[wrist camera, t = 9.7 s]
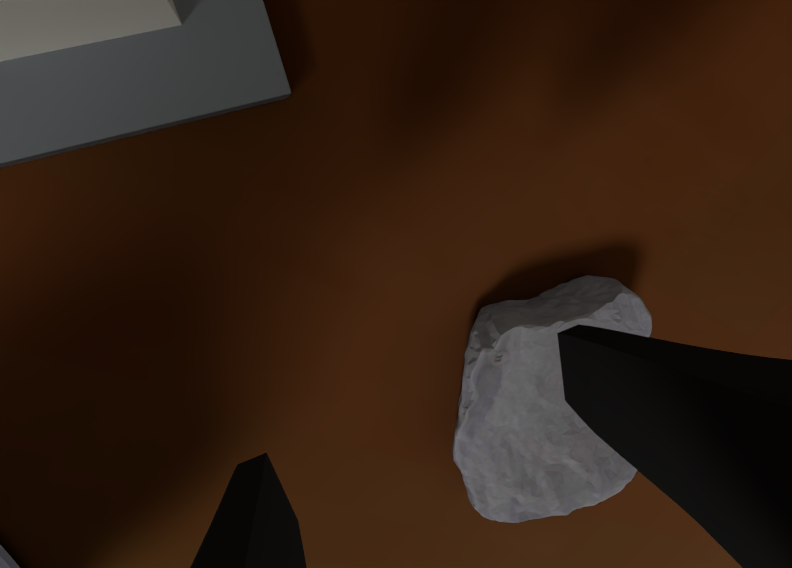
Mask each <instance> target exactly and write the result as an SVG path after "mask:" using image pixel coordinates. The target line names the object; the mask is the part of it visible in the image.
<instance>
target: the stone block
mask: <svg viewBox="0 0 792 568" xmlns="http://www.w3.org/2000/svg"><path fill="white" fill-rule="evenodd" d="M578 324H579V325H587V326H594V327H600V328H605V329H610V330H615V331H620V332H625V333H630V334H635V335H640V336H645V337H649V336H650V334H651V329H652V321H651V314H650V313H649V311H648V310H647V308H646V307H645V305H644V303H643V301H642V300H641V298H640V297H639V296H637V295H636V294H635V293H634V292H632V291H631V290H629V289H628V288H626V287H625V286H624V285H622V284H621V283H620V282H619V281H618V280H616V279H613V278H607V277H599V276H590V275H586V276H583V277H579V278H576V279H573V280H571V281H569V282H567V283H562V284H560V285H558V286H556V287H555V288H552V289H549V290H547V291H545V292H543V293H541V294H540V295H539V296H538V297H535V298H531V299H528V300H506V301H502V302H499V303H495V304H489V305H487V306H484V307H482V308H481V310H480V311H479V313H478V316H477V318H476V321H475V323H474V325H473V327H472V330H471V333H470V336H469V342H468V345H467V349H466V352H465V355H464V357H465V364H464V371H463V377H462V378H463V383H462V392H461V394H460V396H459V402H458V405H459V412H458V417H457V420H456V429H455V435H454V441H453V455H452V458H453V460H454V462H455V463H456V465H457V466H458V468H459V469H460V470H461V473H462V476H463V481H464V484H465V486H466V489H467V493H468V499H469V500H470V502H471V504H472V505H473V507H474V509H476V510H477V511H479V513H480V514H481V515H482V516H483V517H485V518H488V519H490V520H497V521H498V522H511V523H518V522H522V521H526V520H530V519H538V518H543V517H548V516H557V515H568V514H569V513H570V512H572V511H573V510H575V509H579V508H582V507H584V506H593V505H596V504H597V503H599V502H601V501H604V500H605V499H607V498H609V497H611V496H613V495H615V494H616V493H618V492H620V491H621V490H622V489H623V488H624V487H625V485H626V484H627V483H628V482H630V481H631V480H632V478H633V477H634V475H635V473H636V471H637V469H636V468H635V467H633V466H632V465H631V464H630V463H629V462H627V461H626V460H625V459H624V458H623V457H622V456H620V455H619V454H618V453H617V452H616V451H615V450H613V449H612V448H611V447H610V446H609V445H608V444H606V443H605V442H604V441H603V440H602V439H601V438H600V437H599V436H597V435H596V434H595V433H594V432H593V431H592V430H591V429H590V428H589V427H588V426H587V424H586V423H585V422H584V421H583V420H582V419H581V418H580V417H579V416H578V415H577V414H576V412H575V411H574V410H573V409H572V408H571V407H570V406H569V404H568V403H567V402H566V401H565V396H564V387H563V379H562V370H561V361H560V352H559V344H558V335H557V333H559V332H561V331H564V330H566V329H568V328H571V327H573V326H576V325H578Z"/></svg>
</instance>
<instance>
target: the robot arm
mask: <svg viewBox="0 0 792 568" xmlns="http://www.w3.org/2000/svg"><path fill="white" fill-rule="evenodd" d="M557 335H558V344H559V352H560V361H561V370H562V379H563V387H564V396H565V401H566V402H567V403H568V404H569V406H570V407H571V408H572V409H573V410H574V411H575V412H576V414H577V415H578V416H579V417H580V418H581V419H582V420H583V421H584V422H585V423H586V424H587V426H588V427H589V428H590V429H591V430H592V431H593V432H594V433H595V434H596V435H597V436H599V437H600V438H601V439H602V440H603V441H604V442H605V443H606V444H608V445H609V446H610V447H611V448H612V449H613V450H615V451H616V452H617V453H618V454H619V455H620V456H622V457H623V458H624V459H625V460H626V461H627V462H629V463H630V464H631V465H632V466H633V467H635V468H636V469H637V470H638V471H639V472H640V473H642V474H643V475H644V476H645V477H646V478H647V479H649V480H650V481H651V482H652V483H653V484H655V485H656V486H657V487H658V488H659V489H660V490H662V491H663V492H664V493H665V494H666V495H668V496H669V497H670V498H671V499H672V500H673V501H675V502H676V503H677V504H678V505H679V506H680V507H681V508H683V509H684V510H685V511H686V512H687V513H688V514H689V515H690V516H691V517H692V518H694V519H695V520H696V521H697V522H698V523H699V524H700V525H701V526H702V527H703V528H704V529H705V530H706V531H707V532H708V533H709V534H710V535H711V536H712V537H713V538H714V539H715V540H716V541H717V542H718V543H719V544H720V545H721V546H722V547H723V548H724V549H725V550H726V551H727V552H728V553H729V554H730V555H731V556H732V557H733V558H734V559H735V560H736V561H737V562H738V563H739V564H740V565H741V566H742V567H743V568H792V360H787V359H778V358H768V357H760V356H753V355H746V354H739V353H733V352H726V351H720V350H714V349H708V348H702V347H696V346H691V345H685V344H680V343H675V342H670V341H665V340H660V339H655V338H650V337H645V336H640V335H635V334H630V333H625V332H620V331H615V330H610V329H605V328H600V327H594V326H587V325H579V324H578V325H576V326H573V327H571V328H568V329H566V330H564V331H561V332H559V333H557ZM0 568H20V567H19V566H18V565H17V563H16V562H15V561H14V560H13V559H12V557H11V556H10V555H9V554H8V553H7V552H6V550H5V549H4V548H3V547H2V546H1V545H0ZM190 568H306V562H305V556H304V551H303V545H302V540H301V534H300V529H299V524H298V520H297V518H296V516H295V513H294V511H293V509H292V507H291V505H290V503H289V500H288V498H287V496H286V494H285V492H284V490H283V487H282V485H281V483H280V481H279V479H278V477H277V474H276V472H275V470H274V468H273V466H272V464H271V461H270V459H269V457H268V455H267V453H265V454H262V455H260V456H257V457H255V458H252V459H250V460H248V461H245V462H243V463H240V464H238V465H237V467H236V469H235V470H234V473H233V475H232V477H231V479H230V482H229V484H228V486H227V489H226V491H225V493H224V496H223V498H222V500H221V502H220V505H219V507H218V509H217V511H216V514H215V516H214V518H213V520H212V523H211V525H210V527H209V529H208V531H207V534H206V536H205V538H204V540H203V542H202V544H201V546H200V548H199V550H198V553H197V555H196V557H195V559H194V561H193V563H192V565H191V567H190Z"/></svg>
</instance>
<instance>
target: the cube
mask: <svg viewBox="0 0 792 568" xmlns="http://www.w3.org/2000/svg"><path fill="white" fill-rule="evenodd" d="M179 25H182V24H181V21H180V19H179V16H178V13H177V11H176V8H175V5H174V3H173V0H0V62H1V61H5V60H10V59H15V58H20V57H25V56H30V55H35V54H40V53H45V52H50V51H55V50H60V49H65V48H70V47H75V46H80V45H85V44H90V43H95V42H100V41H105V40H110V39H115V38H120V37H125V36H130V35H135V34H139V33H144V32H149V31H154V30H159V29H164V28H169V27H174V26H179Z"/></svg>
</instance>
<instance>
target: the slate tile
mask: <svg viewBox="0 0 792 568" xmlns="http://www.w3.org/2000/svg"><path fill="white" fill-rule="evenodd" d="M173 3H174V5H175V8H176V11H177V13H178V16H179V19H180V21H181V24H182V25H179V26H174V27H169V28H164V29H159V30H154V31H149V32H144V33H139V34H135V35H130V36H125V37H120V38H115V39H110V40H105V41H100V42H95V43H90V44H85V45H80V46H75V47H70V48H65V49H60V50H55V51H50V52H45V53H40V54H35V55H30V56H25V57H20V58H15V59H10V60H5V61H1V62H0V168H3V167H7V166H11V165H15V164H19V163H24V162H28V161H32V160H36V159H40V158H44V157H48V156H52V155H56V154H61V153H65V152H69V151H73V150H77V149H81V148H85V147H89V146H93V145H97V144H102V143H106V142H110V141H114V140H118V139H122V138H126V137H130V136H134V135H139V134H143V133H147V132H151V131H155V130H159V129H163V128H167V127H171V126H175V125H180V124H184V123H188V122H192V121H196V120H200V119H204V118H208V117H212V116H217V115H221V114H225V113H229V112H233V111H237V110H241V109H245V108H249V107H253V106H258V105H262V104H266V103H270V102H274V101H278V100H282V99H286V98H289V96H290V95H291V90H290V87H289V83H288V80H287V77H286V74H285V70H284V67H283V64H282V61H281V57H280V54H279V51H278V48H277V44H276V41H275V38H274V35H273V31H272V28H271V25H270V22H269V18H268V15H267V12H266V9H265V5H264V2H263V0H173Z"/></svg>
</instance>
